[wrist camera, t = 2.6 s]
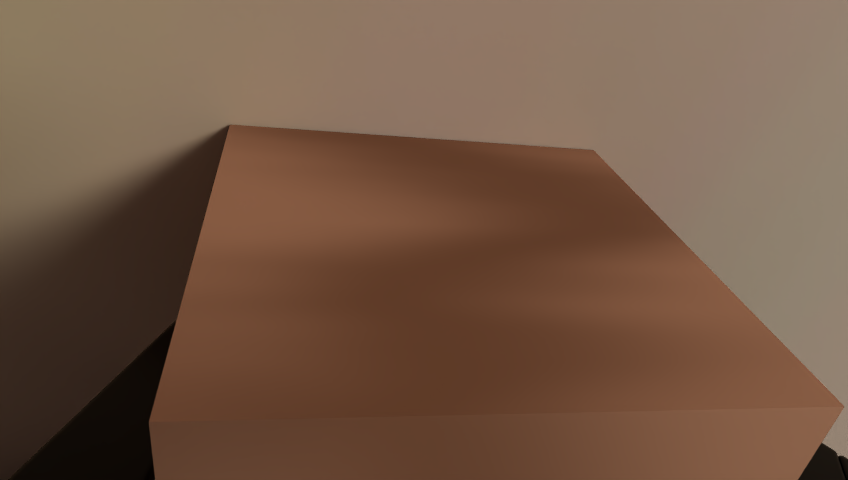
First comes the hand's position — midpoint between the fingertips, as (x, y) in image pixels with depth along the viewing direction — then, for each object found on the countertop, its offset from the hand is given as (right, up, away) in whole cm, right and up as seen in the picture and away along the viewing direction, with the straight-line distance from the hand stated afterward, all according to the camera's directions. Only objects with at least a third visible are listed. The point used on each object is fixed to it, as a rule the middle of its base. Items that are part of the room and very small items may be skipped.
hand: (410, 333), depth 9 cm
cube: (0, +1, +1) cm, 1 cm away
